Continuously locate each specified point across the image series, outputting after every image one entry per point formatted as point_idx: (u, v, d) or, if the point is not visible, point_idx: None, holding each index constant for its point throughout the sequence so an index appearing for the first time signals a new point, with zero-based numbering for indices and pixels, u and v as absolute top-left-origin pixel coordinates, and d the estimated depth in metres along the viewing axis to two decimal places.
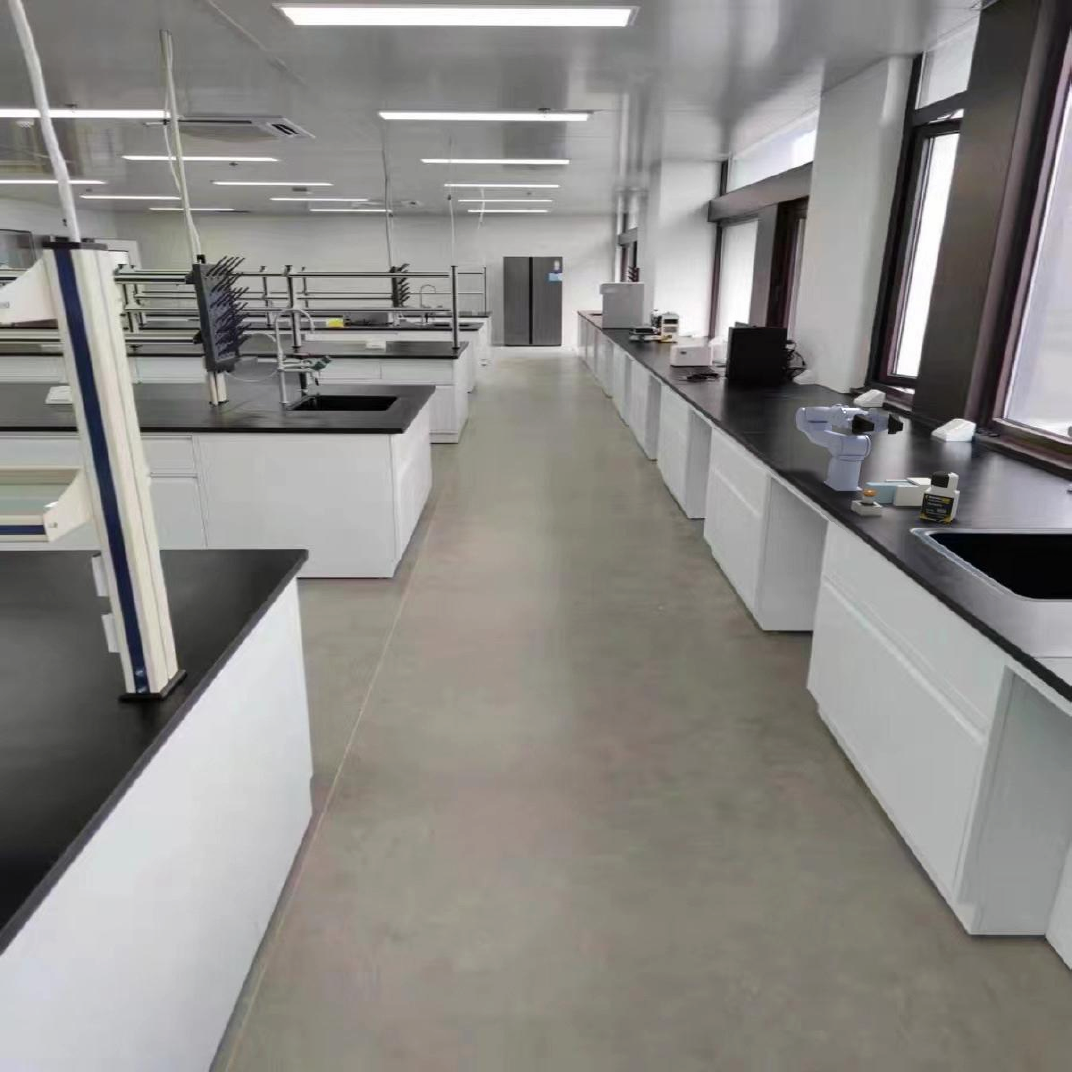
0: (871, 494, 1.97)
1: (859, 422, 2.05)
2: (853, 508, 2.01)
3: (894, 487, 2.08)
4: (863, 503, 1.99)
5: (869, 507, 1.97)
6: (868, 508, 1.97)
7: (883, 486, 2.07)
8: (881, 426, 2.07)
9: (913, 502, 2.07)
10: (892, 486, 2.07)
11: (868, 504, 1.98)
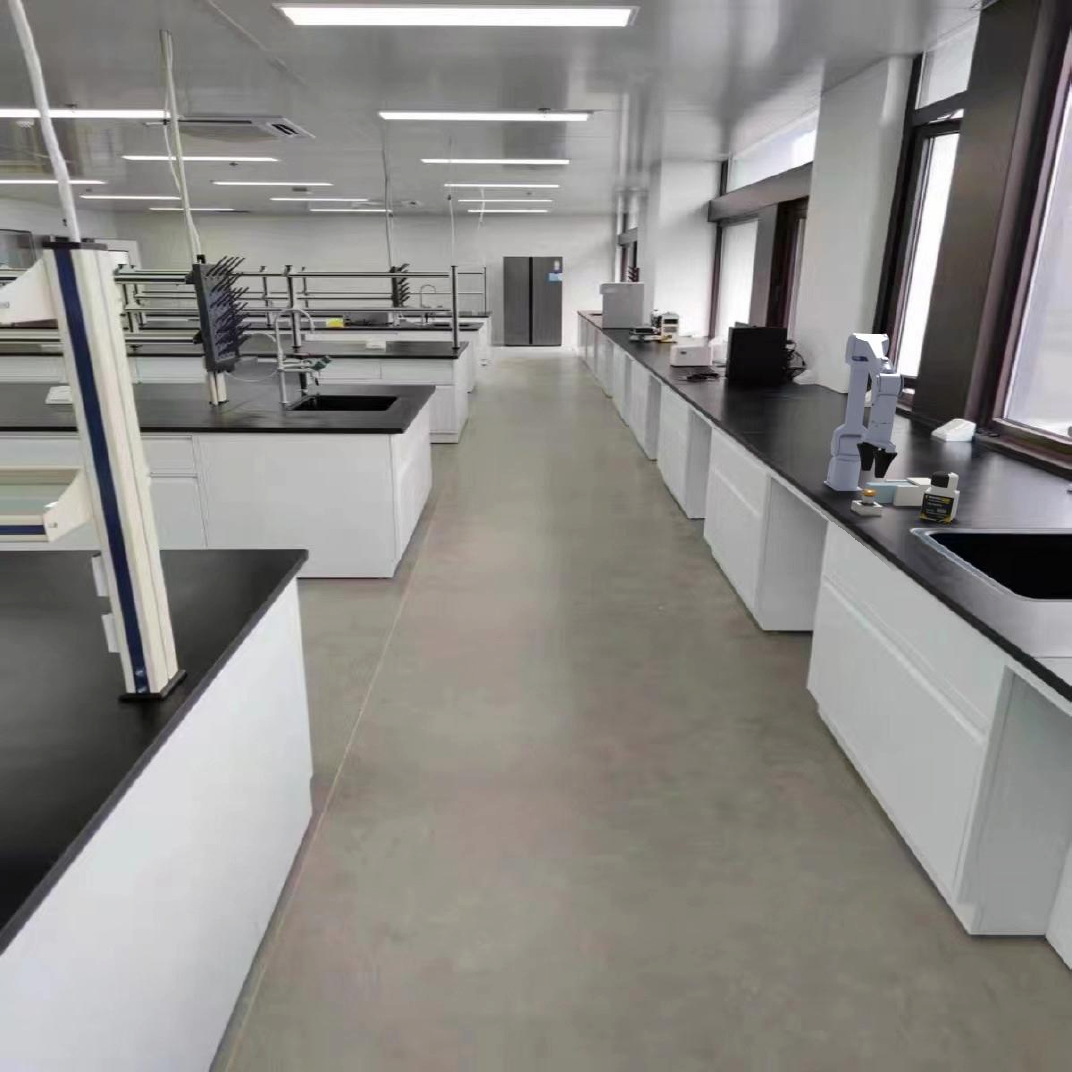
0: (871, 494, 1.97)
1: None
2: (853, 508, 2.01)
3: (894, 487, 2.08)
4: (863, 503, 1.99)
5: (869, 507, 1.97)
6: (868, 508, 1.97)
7: (883, 486, 2.07)
8: None
9: (913, 502, 2.07)
10: (892, 486, 2.07)
11: (868, 504, 1.98)
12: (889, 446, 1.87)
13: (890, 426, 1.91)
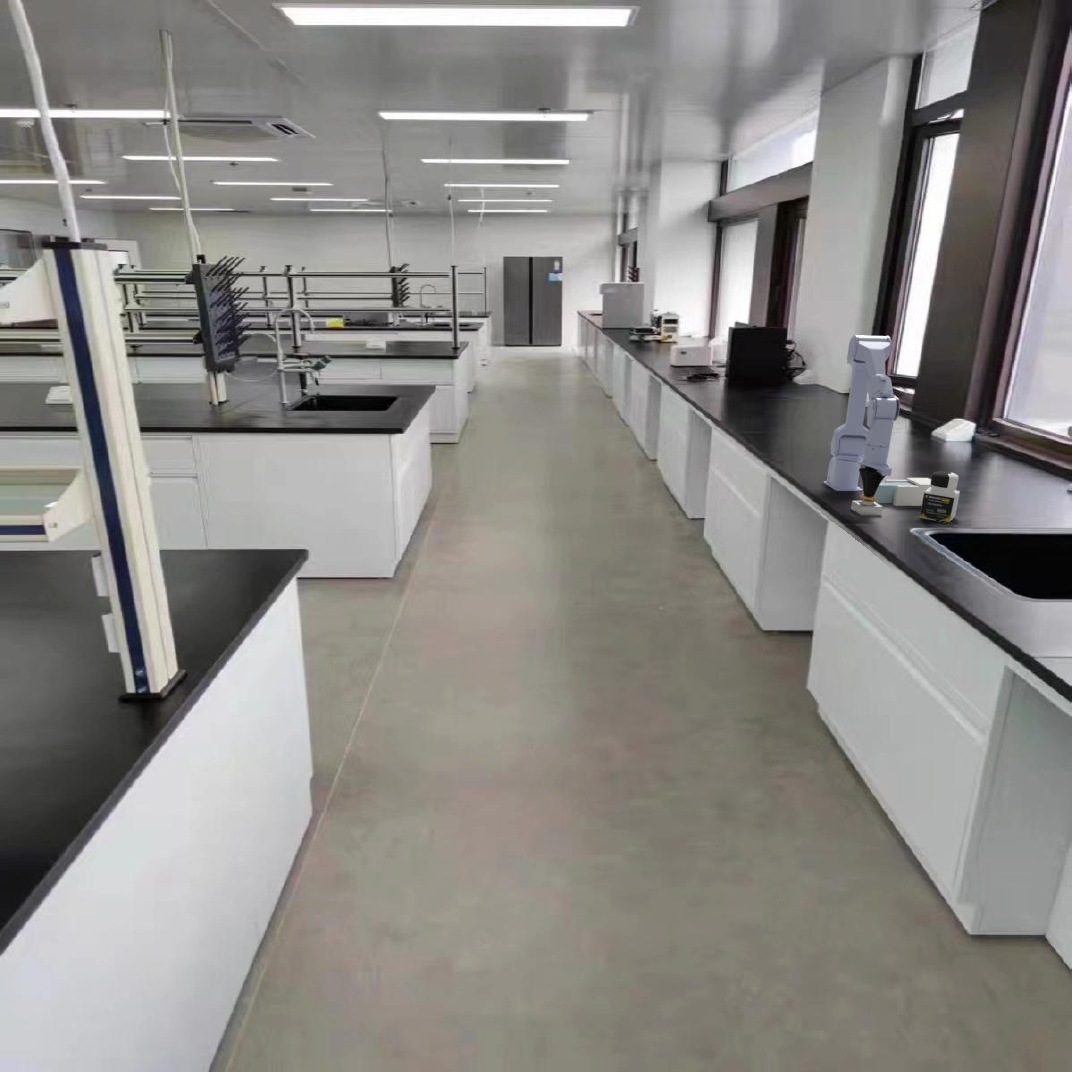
0: (870, 499, 1.97)
1: None
2: (853, 508, 2.01)
3: (894, 487, 2.08)
4: None
5: (869, 507, 1.97)
6: (868, 508, 1.97)
7: (883, 486, 2.07)
8: None
9: (913, 502, 2.07)
10: (892, 486, 2.07)
11: None
12: (885, 469, 1.89)
13: (886, 449, 1.92)
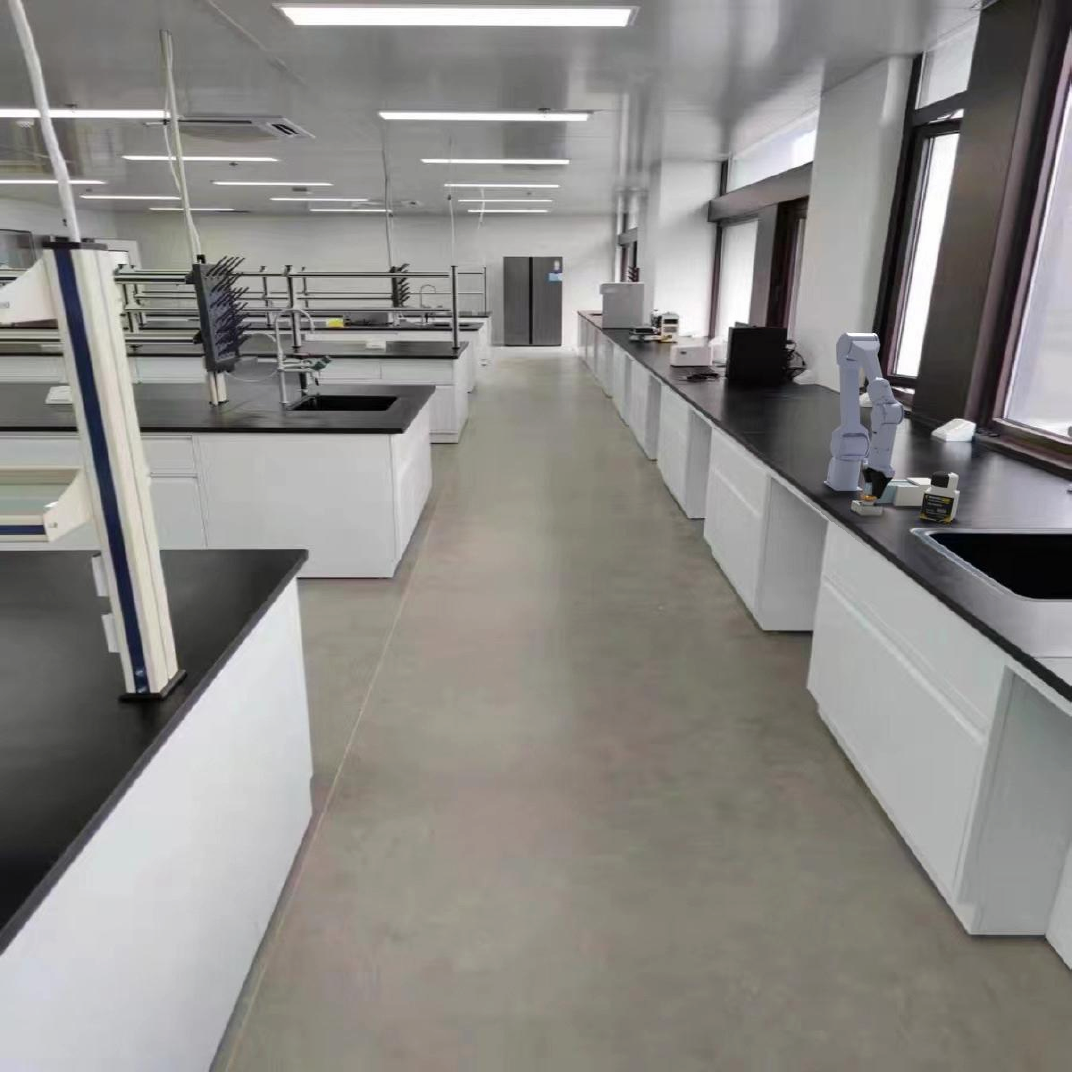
0: (870, 499, 1.97)
1: None
2: (853, 508, 2.01)
3: (894, 487, 2.08)
4: None
5: (869, 507, 1.97)
6: (868, 508, 1.97)
7: None
8: None
9: (913, 502, 2.07)
10: (892, 486, 2.07)
11: None
12: (889, 471, 2.00)
13: (890, 452, 2.03)
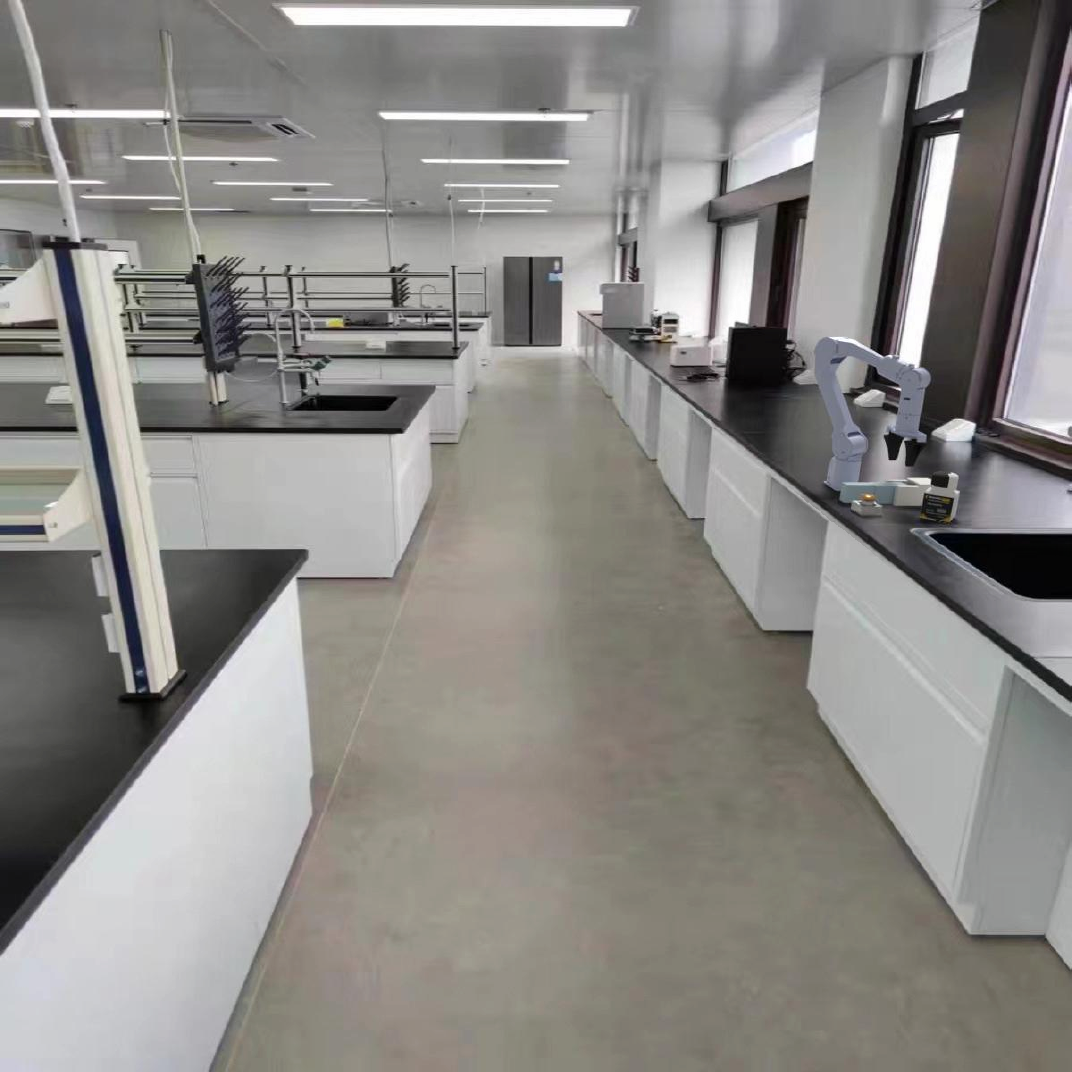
0: (870, 499, 1.97)
1: None
2: (853, 508, 2.01)
3: (870, 487, 2.07)
4: None
5: (869, 507, 1.97)
6: (868, 508, 1.97)
7: (859, 486, 2.07)
8: None
9: (913, 502, 2.07)
10: (868, 486, 2.07)
11: None
12: (921, 436, 2.00)
13: (918, 417, 2.04)
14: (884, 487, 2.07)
